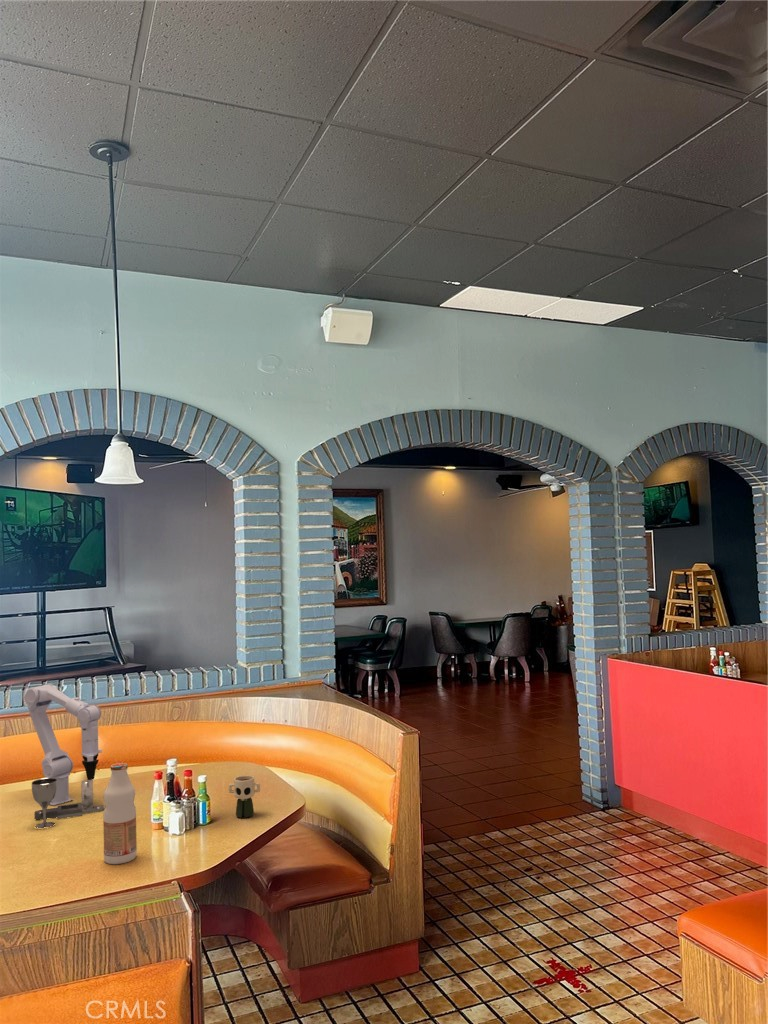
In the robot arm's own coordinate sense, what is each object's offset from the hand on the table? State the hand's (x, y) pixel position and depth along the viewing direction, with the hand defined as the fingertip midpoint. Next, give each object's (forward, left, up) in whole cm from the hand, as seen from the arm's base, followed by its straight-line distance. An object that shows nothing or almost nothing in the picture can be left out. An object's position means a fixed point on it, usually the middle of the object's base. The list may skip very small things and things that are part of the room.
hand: (90, 776), depth 286 cm
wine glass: (+7, -20, -11) cm, 24 cm away
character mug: (+55, +29, -11) cm, 63 cm away
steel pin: (-1, -1, -11) cm, 11 cm away
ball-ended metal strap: (+3, -9, -11) cm, 14 cm away
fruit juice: (+56, -18, -11) cm, 60 cm away
